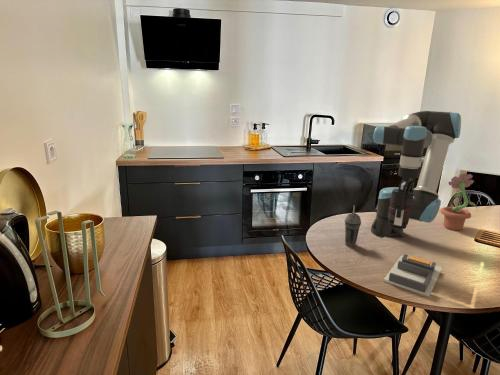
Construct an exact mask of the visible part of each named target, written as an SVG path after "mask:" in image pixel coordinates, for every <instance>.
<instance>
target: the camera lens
mask: <svg viewBox="0 0 500 375" xmlns="http://www.w3.org/2000/svg"><path fill="white" fill-rule="evenodd" d="M397 194H398V189H393V191H392V194H391V201H390V206H389V214H388V222H389V226H390V227H392V228H395V229H403V230H405V229H406V228H407V227H408V224H409V221H410V219H409V218H410V211H411V206H412V202H413V192H412V191H411V192H409V193H408V194H407V196H406V201H405V205H404V209H403V210H404V213H403V220H402V226H399V225H395V224H394V220H395V214H396V209H394V207H395V204H396V199H397Z"/></svg>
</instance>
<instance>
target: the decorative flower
mask: <svg viewBox="0 0 500 375" xmlns="http://www.w3.org/2000/svg"><path fill="white" fill-rule="evenodd" d="M473 176H474V175H472V174H471V173H469V174H467V173H461V174H459V176H456V175H455V176H453V177H452V178H451V179H450V181H448V186H451V188H452V189H460V191H461V192H458V193H457V194H454V196H453V198H459V197H460V196H461V195H462V199H463V204H462V205H455V206H444V207H442V208H441V209H440V213H441V214H442V215H443V226H444V227H445V229H448V230H452V231H461V230H462V229H463V228H464V225H465V222H466V220H468V219H471V218H472V213H471V212H470V211H469V210H467V209H465V208H467V206H468V205H471V206H472V207H473V206H474V207H476V206H477V204H475V203H474V202H473V201H469V198H468V195H467V193H466V188H468V187H470V186H471V185H473V183H475V181H474V179H472V178H473Z"/></svg>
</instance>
